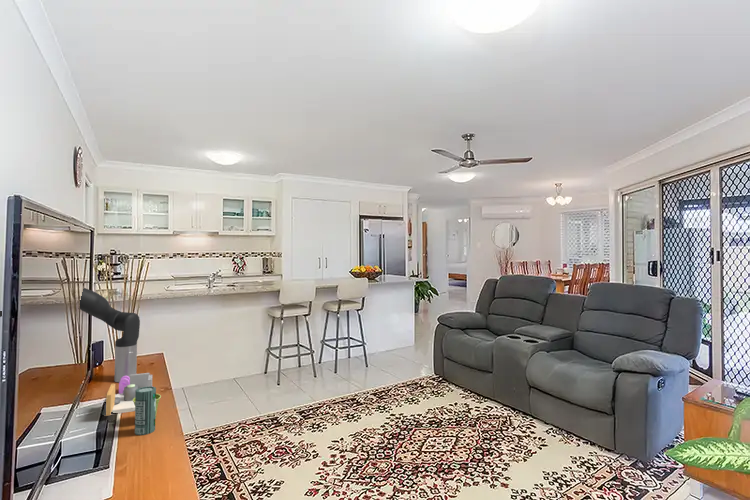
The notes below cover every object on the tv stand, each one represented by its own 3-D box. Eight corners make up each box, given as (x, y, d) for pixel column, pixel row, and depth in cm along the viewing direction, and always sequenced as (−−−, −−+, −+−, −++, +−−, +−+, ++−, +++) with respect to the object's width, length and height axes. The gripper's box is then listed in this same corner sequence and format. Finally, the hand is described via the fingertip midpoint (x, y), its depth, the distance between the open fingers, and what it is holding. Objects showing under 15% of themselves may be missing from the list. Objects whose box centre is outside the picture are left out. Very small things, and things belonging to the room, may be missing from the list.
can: (158, 428, 146) (159, 387, 146) (145, 436, 140) (146, 392, 140) (144, 426, 148) (145, 385, 148) (130, 434, 142) (131, 391, 142)
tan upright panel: (106, 401, 166) (107, 382, 166) (120, 400, 168) (121, 381, 168) (100, 417, 151) (100, 395, 151) (115, 414, 154) (116, 394, 154)
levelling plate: (108, 397, 175) (109, 375, 175) (157, 391, 184) (157, 370, 184) (101, 415, 156) (101, 391, 156) (155, 408, 165) (155, 384, 165)
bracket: (118, 395, 179) (119, 379, 179) (120, 391, 184) (120, 376, 184) (152, 391, 184) (152, 376, 185) (152, 387, 189) (153, 372, 190)
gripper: (12, 349, 137) (55, 379, 142) (26, 340, 150) (64, 368, 155) (-9, 366, 134) (35, 396, 140) (7, 356, 147) (47, 384, 153)
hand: (50, 381), depth 147 cm, fingers open, 6 cm apart
